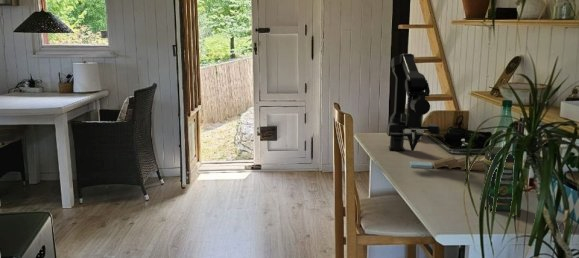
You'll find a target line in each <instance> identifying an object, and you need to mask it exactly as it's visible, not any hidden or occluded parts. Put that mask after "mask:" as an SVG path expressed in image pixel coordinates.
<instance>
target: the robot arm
mask: <svg viewBox="0 0 579 258" xmlns="http://www.w3.org/2000/svg"><path fill="white" fill-rule="evenodd" d="M390 66H391V67H390V68H391V69H392V70H391V71H392V73H393V75H394V77H395V86H394V89H395V90H394V106H393V107H394V108H393V113H392V114H391V116H389V122H388V124H387V127H386V135H387V136H388V137H390V138H389V139H390V140H389V145H388V149H389V151H395V152H396V151H397V152H405V150H406V149H405V147H404V143H405V139H404V136H407V137H408V139H407V140H408V144H409V148H410V151H411V152H414V150H415V149H416V147H417V144H418V142H419V141H420V140H419V139H420V137H421V138H422V137H423V136H425V134H424V132H429V133H430V134H431V135H440V133H441V127H440V126H439V125H438V124H437V123H428V124H427V125H425V126H424V125H423V123H422V115H423V116H424V115H426V114H428V113H429V111H430V109H431V104H430V102H429V101H428V100H427V99H426V97H430V93H431V90H430V85H429V83H428V79H427V78H426V77H425V75H424V74H423V73H421V72H420V71H419V70H418V69H419V68H418V66H417V63H416V61H415V54H412V53H402V54H399V55H397V56H394V57H393V58H391V61H390ZM406 99H407V100H406ZM406 102H407V103H406ZM405 104H407V116H406V114H405ZM411 131H414V139H412V133H411Z"/></svg>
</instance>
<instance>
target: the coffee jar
mask: <svg viewBox="0 0 579 258" xmlns="http://www.w3.org/2000/svg"><path fill="white" fill-rule="evenodd" d="M493 147H494V149H493V151H492V152H491V159H490V162H489V156H488V150H487V151H486V150H485V153H484V158H483V160H484V164H485V165H486V171H484V179H483V183H482V186H481V187H482V188H481V193H480V198H479V201H480V200H481V196H482V192H483V188H484V184H485V181H486V177H487V173H488V170H489V167H490V165H491V163H492V160H493V159H494V157H495V155H496V154H497V152H498V151H499V150H500V149H501V148H502V147H503V146H493ZM513 165H514V158H513V156H512V155H511V154H509V155H508V157H507V159H506V162H505V167H504V172H503V175H502V178H501V182H500V188H499V194H498V200H497V207H496V210H495V211H508V212H509V210H510V206H511V201H512V181H513ZM496 172H497V169H496V170H495V172H494V174H493V177H492V181H491V187H490V196H489V205H490V208H491V209H492V206H493V198H494V186H495V179H496ZM491 209H490V210H491ZM510 211H511V210H510Z"/></svg>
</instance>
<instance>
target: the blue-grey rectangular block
mask: <svg viewBox="0 0 579 258" xmlns="http://www.w3.org/2000/svg"><path fill="white" fill-rule="evenodd" d="M409 166H410V169H411V168H413V169H433V163H432V162H431V161H414V160H413V161H409Z"/></svg>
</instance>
